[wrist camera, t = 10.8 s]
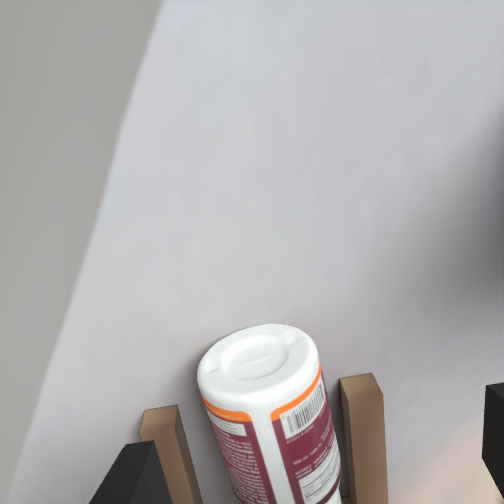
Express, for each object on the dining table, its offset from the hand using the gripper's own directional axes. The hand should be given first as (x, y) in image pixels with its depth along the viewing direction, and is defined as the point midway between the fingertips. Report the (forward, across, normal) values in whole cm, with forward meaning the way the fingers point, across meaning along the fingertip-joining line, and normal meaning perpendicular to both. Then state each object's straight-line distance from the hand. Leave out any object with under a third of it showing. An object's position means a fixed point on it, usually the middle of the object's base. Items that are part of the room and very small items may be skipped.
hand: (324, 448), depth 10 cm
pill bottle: (+7, +1, +2) cm, 7 cm away
